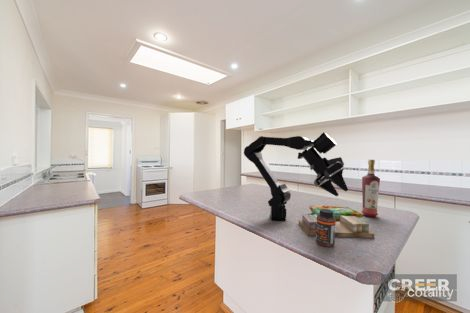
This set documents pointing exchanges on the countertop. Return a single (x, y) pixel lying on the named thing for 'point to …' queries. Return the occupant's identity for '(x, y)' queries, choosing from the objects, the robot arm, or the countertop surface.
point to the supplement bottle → (325, 228)
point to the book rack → (339, 226)
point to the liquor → (370, 191)
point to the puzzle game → (336, 211)
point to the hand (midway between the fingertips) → (342, 193)
